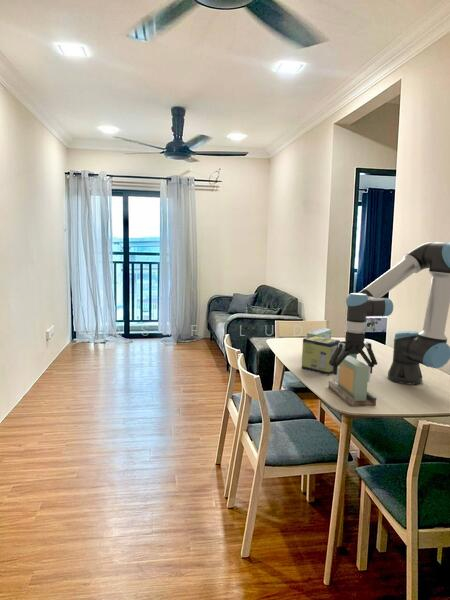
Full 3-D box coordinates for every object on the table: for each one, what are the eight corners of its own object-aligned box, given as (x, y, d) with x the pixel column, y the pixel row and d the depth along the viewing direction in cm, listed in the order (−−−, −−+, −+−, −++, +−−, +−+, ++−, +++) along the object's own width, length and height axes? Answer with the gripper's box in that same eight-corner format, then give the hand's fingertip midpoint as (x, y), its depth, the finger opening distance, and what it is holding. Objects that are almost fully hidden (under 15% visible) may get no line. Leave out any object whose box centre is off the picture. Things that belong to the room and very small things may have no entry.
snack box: (314, 362, 229) (315, 334, 227) (304, 360, 233) (306, 332, 231) (330, 354, 246) (332, 328, 244) (321, 352, 249) (322, 327, 247)
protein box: (310, 364, 224) (312, 335, 222) (338, 370, 215) (340, 340, 213) (300, 368, 216) (302, 338, 214) (329, 375, 207) (331, 343, 205)
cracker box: (366, 400, 172) (368, 366, 170) (353, 400, 171) (356, 366, 169) (348, 387, 187) (350, 355, 186) (337, 387, 187) (339, 355, 185)
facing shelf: (350, 386, 191) (351, 380, 190) (375, 405, 169) (376, 398, 169) (327, 387, 189) (328, 380, 189) (350, 406, 168) (350, 399, 167)
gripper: (379, 329, 181) (375, 377, 184) (322, 329, 177) (319, 379, 180) (388, 333, 174) (384, 383, 177) (330, 333, 170) (326, 385, 173)
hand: (351, 381), depth 178 cm, fingers open, 13 cm apart
